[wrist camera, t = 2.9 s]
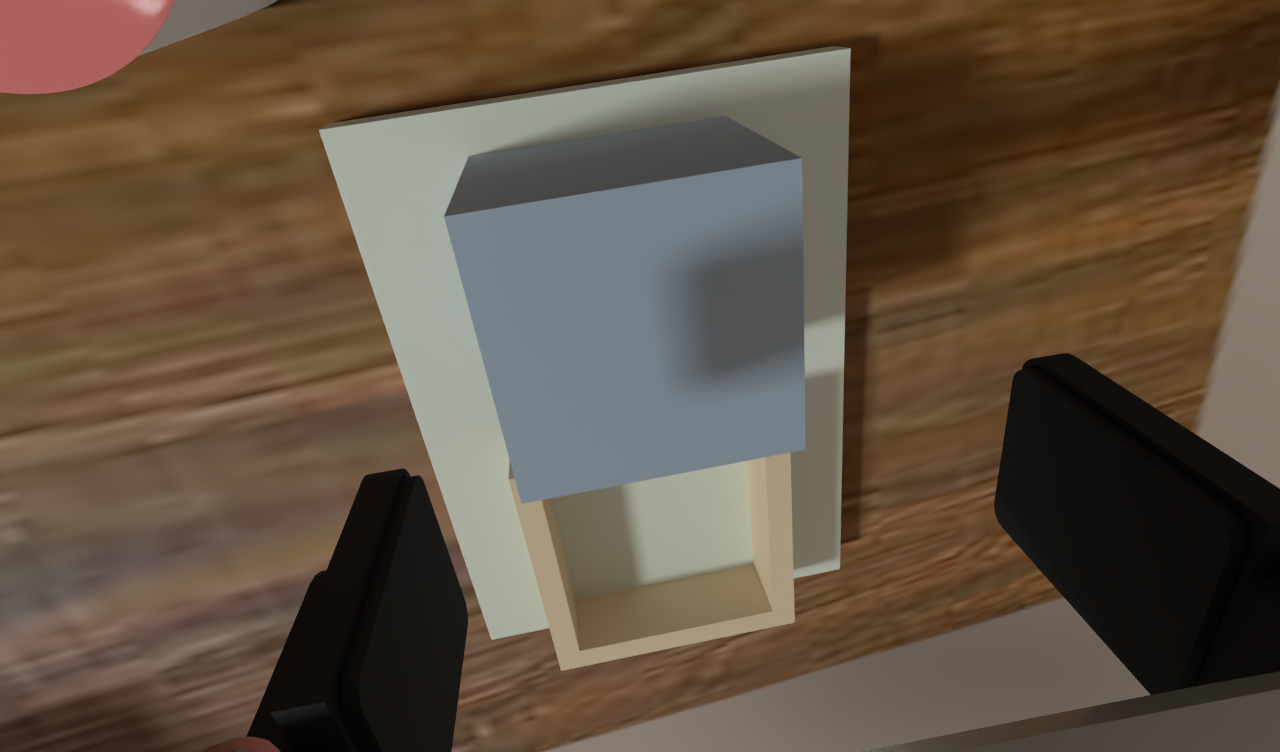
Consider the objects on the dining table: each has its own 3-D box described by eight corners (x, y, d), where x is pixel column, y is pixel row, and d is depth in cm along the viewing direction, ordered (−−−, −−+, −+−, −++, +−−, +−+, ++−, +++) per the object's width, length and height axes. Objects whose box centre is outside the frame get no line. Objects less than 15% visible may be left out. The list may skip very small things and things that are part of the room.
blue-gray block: (468, 156, 18) (443, 216, 13) (725, 115, 19) (802, 157, 13) (523, 383, 22) (521, 504, 16) (740, 344, 22) (805, 449, 17)
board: (331, 122, 18) (290, 146, 15) (833, 46, 19) (892, 53, 16) (492, 615, 28) (488, 694, 25) (828, 548, 29) (865, 615, 25)
